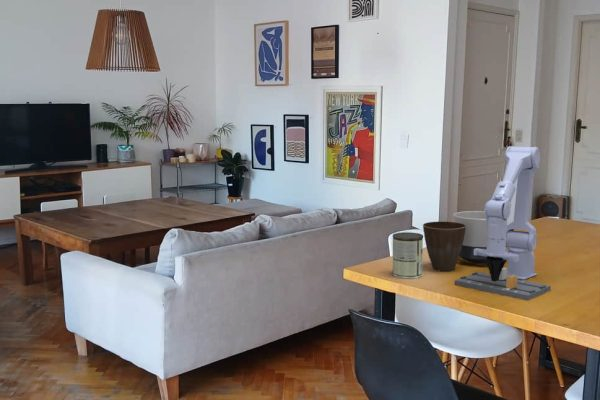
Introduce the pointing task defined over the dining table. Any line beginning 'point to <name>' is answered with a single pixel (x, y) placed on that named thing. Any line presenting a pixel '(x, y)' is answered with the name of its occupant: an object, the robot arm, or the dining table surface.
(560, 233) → the dining table surface
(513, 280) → the orange fader knob
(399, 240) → the coffee can
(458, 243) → the plant pot
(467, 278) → the console
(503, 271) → the grey fader knob
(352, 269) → the dining table surface
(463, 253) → the planter
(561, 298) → the dining table surface
